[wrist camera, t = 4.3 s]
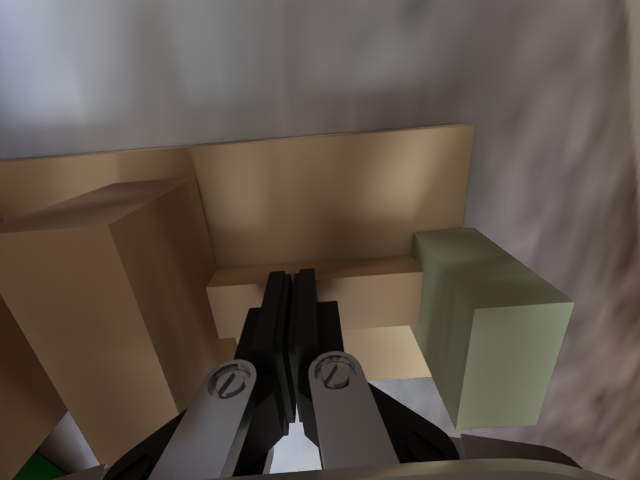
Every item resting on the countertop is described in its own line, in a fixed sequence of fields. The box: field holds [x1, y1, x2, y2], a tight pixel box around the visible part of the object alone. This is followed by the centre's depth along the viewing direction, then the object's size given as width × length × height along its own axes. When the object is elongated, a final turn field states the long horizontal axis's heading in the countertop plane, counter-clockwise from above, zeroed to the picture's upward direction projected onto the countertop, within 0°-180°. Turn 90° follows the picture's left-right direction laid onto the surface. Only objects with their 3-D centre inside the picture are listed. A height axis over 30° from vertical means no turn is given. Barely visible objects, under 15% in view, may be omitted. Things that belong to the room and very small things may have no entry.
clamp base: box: [0, 124, 475, 480], centre depth 11 cm, size 22×12×7 cm, turn 94°
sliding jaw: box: [0, 177, 575, 467], centre depth 10 cm, size 13×10×5 cm
